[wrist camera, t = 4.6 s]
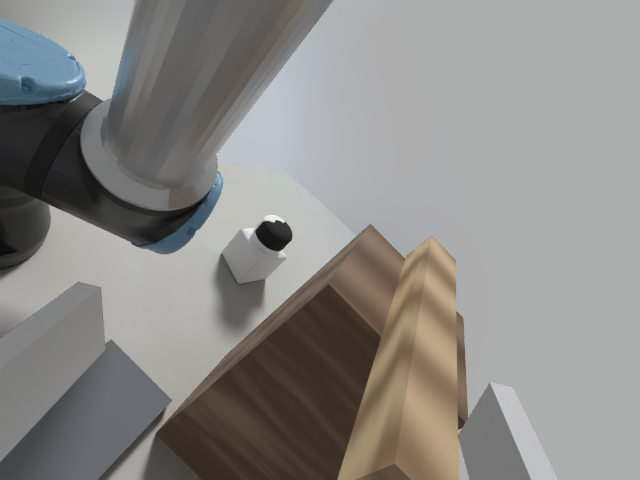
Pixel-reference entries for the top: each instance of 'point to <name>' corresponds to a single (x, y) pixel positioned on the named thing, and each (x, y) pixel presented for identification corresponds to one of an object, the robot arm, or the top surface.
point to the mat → (88, 423)
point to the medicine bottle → (258, 249)
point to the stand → (298, 376)
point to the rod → (412, 380)
